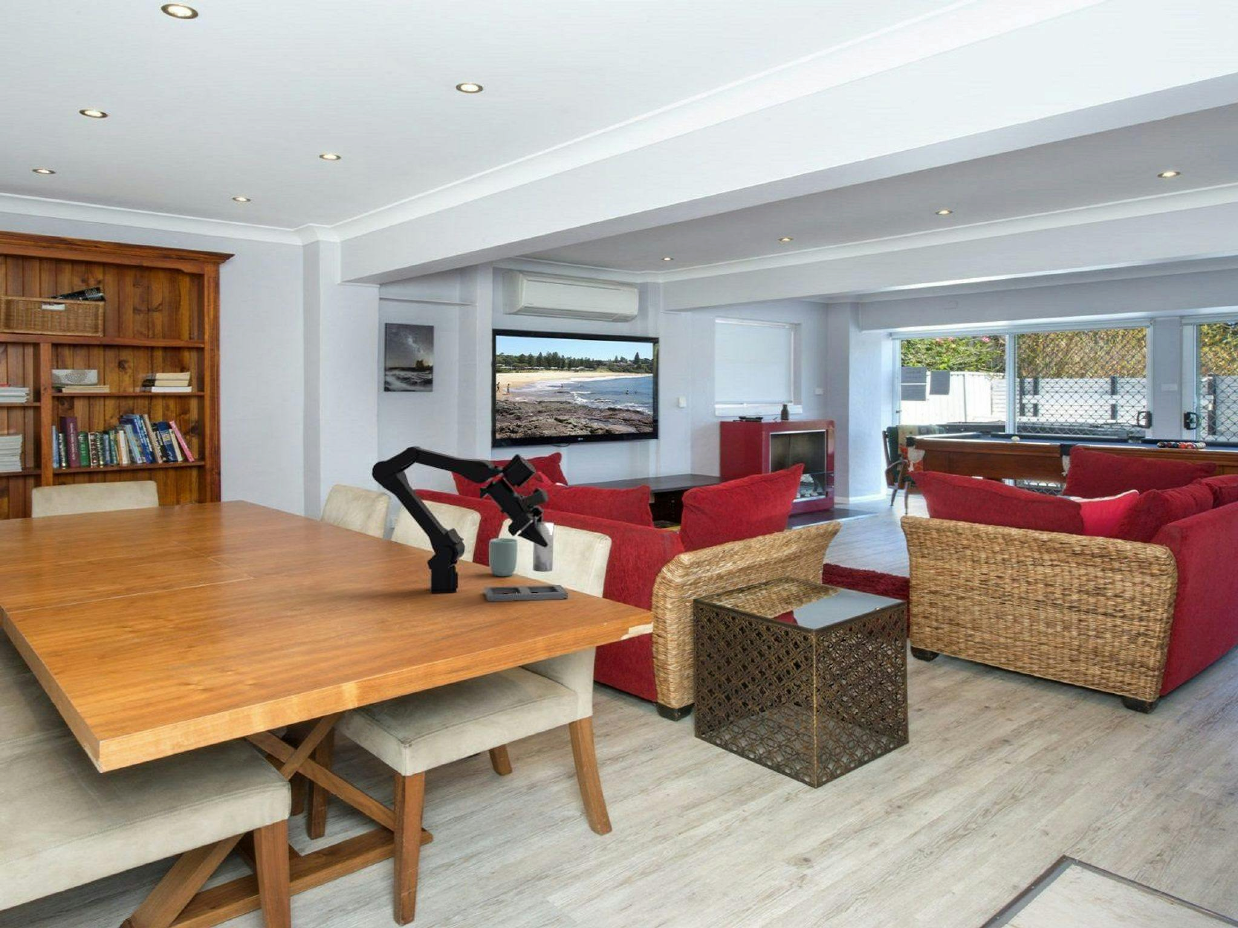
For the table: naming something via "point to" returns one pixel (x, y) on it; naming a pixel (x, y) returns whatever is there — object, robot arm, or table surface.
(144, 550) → the table surface
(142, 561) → the table surface
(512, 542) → the cup
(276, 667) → the table surface
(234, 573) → the table surface
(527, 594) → the grey divided tray
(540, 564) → the peg
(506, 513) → the robot arm
